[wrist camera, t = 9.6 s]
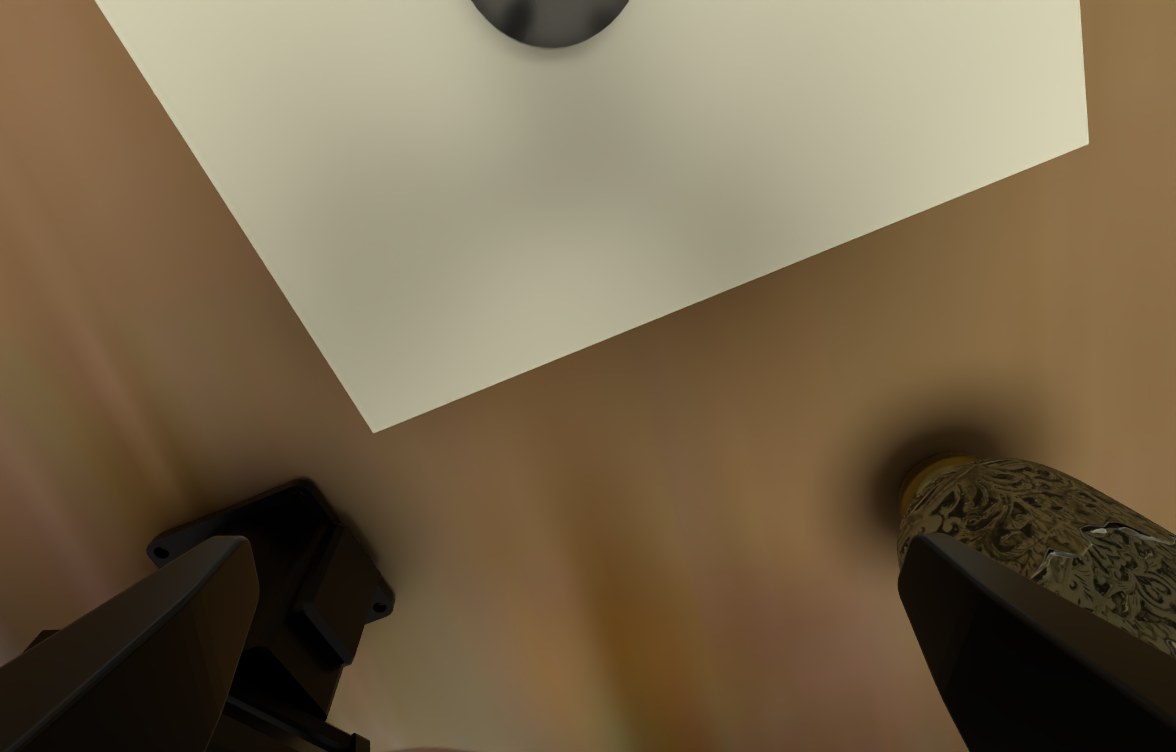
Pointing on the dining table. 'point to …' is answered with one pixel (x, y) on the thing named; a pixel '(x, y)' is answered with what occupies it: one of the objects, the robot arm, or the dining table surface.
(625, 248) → the dial plate
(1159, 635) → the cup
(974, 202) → the dining table surface
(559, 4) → the dark knobbed cylinder
